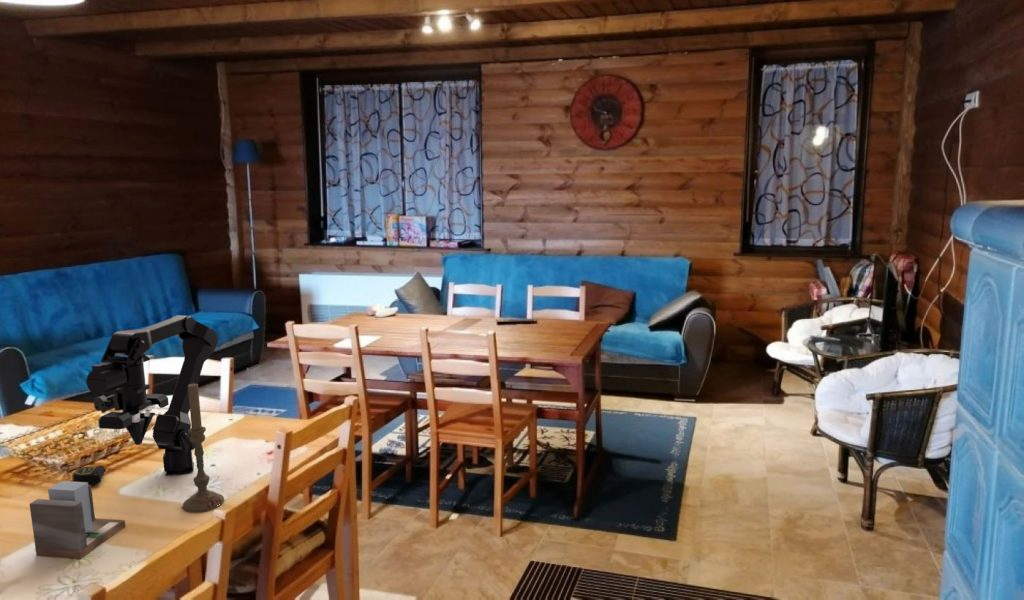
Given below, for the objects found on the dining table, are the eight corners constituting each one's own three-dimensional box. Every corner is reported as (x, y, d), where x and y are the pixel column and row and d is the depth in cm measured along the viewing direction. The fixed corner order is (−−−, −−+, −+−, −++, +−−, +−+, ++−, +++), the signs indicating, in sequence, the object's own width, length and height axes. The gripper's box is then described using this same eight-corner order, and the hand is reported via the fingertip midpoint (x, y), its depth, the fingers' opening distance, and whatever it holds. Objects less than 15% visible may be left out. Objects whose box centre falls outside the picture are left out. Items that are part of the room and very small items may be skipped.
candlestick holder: (198, 515, 168) (187, 389, 163) (174, 506, 173) (162, 383, 167) (232, 500, 176) (222, 379, 170) (208, 492, 180) (197, 374, 175)
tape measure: (101, 487, 184) (99, 473, 184) (70, 491, 182) (68, 477, 182) (106, 476, 191) (105, 463, 190) (77, 480, 189) (75, 466, 188)
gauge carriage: (69, 527, 159) (63, 479, 157) (106, 529, 158) (100, 481, 156) (53, 538, 155) (47, 488, 153) (91, 540, 153) (85, 491, 151)
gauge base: (84, 523, 165) (78, 475, 163) (125, 526, 163) (120, 477, 161) (36, 555, 151) (29, 503, 149) (80, 559, 150) (73, 506, 148)
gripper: (126, 371, 187) (132, 429, 190) (73, 393, 169) (81, 457, 172) (167, 372, 186) (172, 431, 188) (118, 394, 167) (125, 459, 170)
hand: (138, 444), depth 180 cm, fingers closed
